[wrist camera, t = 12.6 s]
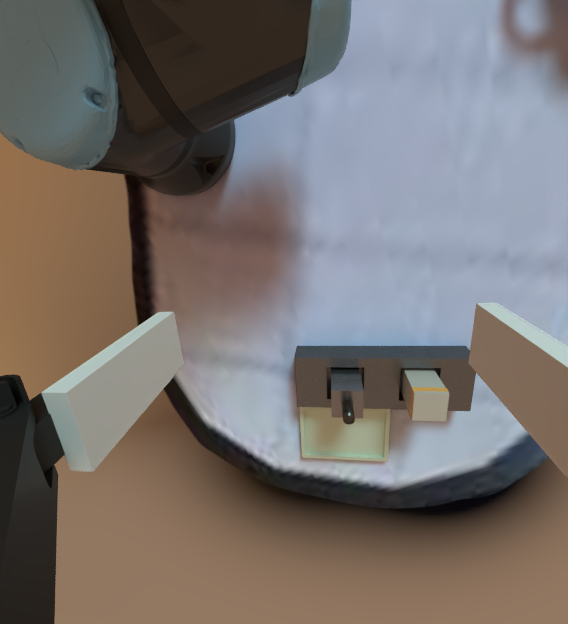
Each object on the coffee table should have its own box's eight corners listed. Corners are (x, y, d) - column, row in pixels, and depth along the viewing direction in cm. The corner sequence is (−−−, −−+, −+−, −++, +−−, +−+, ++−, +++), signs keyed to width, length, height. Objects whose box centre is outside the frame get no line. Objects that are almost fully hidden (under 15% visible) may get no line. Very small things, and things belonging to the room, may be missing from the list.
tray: (302, 452, 55) (301, 457, 54) (299, 402, 52) (299, 406, 51) (386, 456, 53) (387, 461, 52) (389, 404, 50) (390, 409, 49)
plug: (398, 386, 48) (411, 420, 40) (399, 361, 46) (413, 392, 39) (427, 386, 47) (446, 421, 40) (429, 361, 46) (449, 393, 38)
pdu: (299, 391, 51) (291, 444, 40) (297, 346, 49) (288, 388, 38) (459, 394, 48) (499, 453, 37) (465, 345, 46) (510, 393, 34)
